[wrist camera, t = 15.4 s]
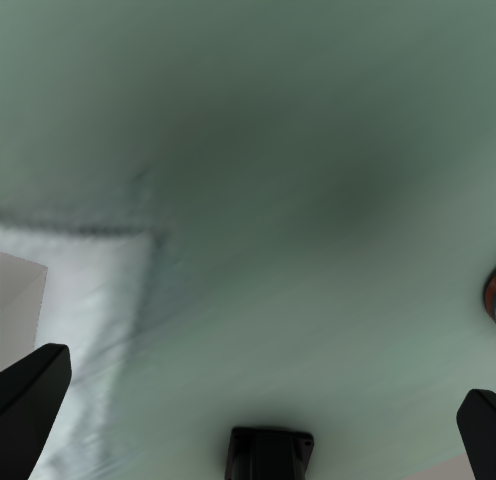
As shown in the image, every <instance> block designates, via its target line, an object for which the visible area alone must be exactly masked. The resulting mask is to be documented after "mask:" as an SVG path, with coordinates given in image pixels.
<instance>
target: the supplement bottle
mask: <svg viewBox="0 0 496 480" xmlns="http://www.w3.org/2000/svg"><path fill="white" fill-rule="evenodd" d="M485 305H486V309H487V312H488V314H489V316H490V317H491V318H492V319H493V320H494V322H495V323H496V274H495V275H494V277H493V278H492V280H491V281H490V283H489V285H488V287H487V290H486V295H485Z"/></svg>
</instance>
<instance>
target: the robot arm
mask: <svg viewBox="0 0 496 480" xmlns="http://www.w3.org/2000/svg"><path fill="white" fill-rule="evenodd" d="M71 376H72V370H71V361H70V352H69V348H68V346H67V345H64V344H55V343H47V344H45V345H43V346H41V347H40V348H38V349H37V350H35V351H33V352H32V353H30V354H28V355H27V356H25V357H24V358H22V359H20V360H19V361H17V362H15V363H14V364H12V365H11V366H9V367H7V368H6V369H4V370H3V371H1V372H0V480H28V478H29V476H30V474H31V473H32V471H33V469H34V467H35V465H36V463H37V461H38V459H39V457H40V455H41V452H42V450H43V448H44V445H45V443H46V441H47V438H48V436H49V433H50V431H51V428H52V426H53V423H54V421H55V419H56V416H57V414H58V411H59V409H60V406H61V404H62V401H63V399H64V396H65V394H66V392H67V389H68V387H69V384H70V381H71ZM456 420H457V425H458V428H459V431H460V434H461V437H462V440H463V443H464V446H465V449H466V452H467V455H468V458H469V461H470V464H471V467H472V470H473V473H474V476H475V479H476V480H496V393H494V392H492V391H490V390H483V389H472V390H470V391H469V392H468V394H467V395H466V397H465V399H464V401H463V403H462V404H461V406H460V408H459V410H458V412H457V416H456ZM313 446H314V438H313V436H311V435H308V434H297V433H286V432H274V431H263V430H252V429H240V428H235V429H233V430H232V431H231V437H230V443H229V450H228V457H227V464H226V471H225V480H306V479H305V473H306V469H307V466H308V463H309V459H310V456H311V453H312V450H313Z"/></svg>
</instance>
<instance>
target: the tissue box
mask: <svg viewBox="0 0 496 480" xmlns="http://www.w3.org/2000/svg"><path fill="white" fill-rule="evenodd" d="M47 268H48V267H46V266H43V265H39V264H36V263H33V262H30V261H27V260H24V259H21V258H18V257H14V256H11V255H8V254H5V253H2V252H0V372H1V371H3V370H4V369H6V368H7V367H9V366H11V365H12V364H14V363H15V362H17V361H19V360H20V359H22V358H24V357H25V356H27V355H28V354H30V353H32V352H33V348H34V343H35V337H36V331H37V326H38V320H39V314H40V308H41V303H42V297H43V291H44V285H45V280H46V274H47Z"/></svg>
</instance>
